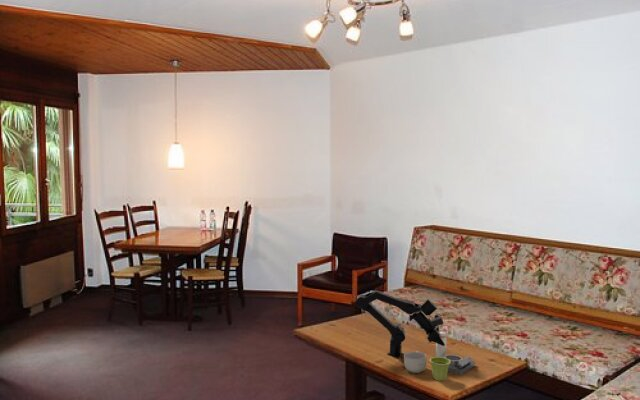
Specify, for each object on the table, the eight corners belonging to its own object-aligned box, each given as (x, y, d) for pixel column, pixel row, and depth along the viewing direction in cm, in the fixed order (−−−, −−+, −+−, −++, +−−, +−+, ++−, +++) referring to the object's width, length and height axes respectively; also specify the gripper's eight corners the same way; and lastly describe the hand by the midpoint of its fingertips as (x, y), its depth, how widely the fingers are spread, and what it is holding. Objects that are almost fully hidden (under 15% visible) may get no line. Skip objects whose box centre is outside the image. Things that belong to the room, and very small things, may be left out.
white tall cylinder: (442, 358, 278) (443, 335, 277) (433, 356, 282) (434, 333, 281) (447, 355, 282) (448, 333, 281) (438, 353, 286) (439, 331, 285)
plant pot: (452, 377, 256) (453, 359, 255) (445, 384, 248) (446, 365, 248) (433, 373, 261) (434, 355, 260) (426, 379, 253) (427, 361, 253)
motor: (460, 374, 260) (460, 364, 259) (436, 367, 268) (436, 357, 268) (475, 365, 272) (475, 355, 271) (451, 359, 280) (451, 349, 280)
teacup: (421, 376, 256) (421, 360, 256) (399, 371, 262) (400, 355, 262) (431, 367, 268) (432, 351, 268) (411, 363, 274) (411, 347, 273)
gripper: (435, 316, 272) (457, 339, 271) (433, 306, 290) (454, 328, 289) (418, 330, 274) (440, 353, 272) (418, 320, 292) (438, 341, 291)
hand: (444, 343), depth 281 cm, fingers closed on white tall cylinder, 5 cm apart
